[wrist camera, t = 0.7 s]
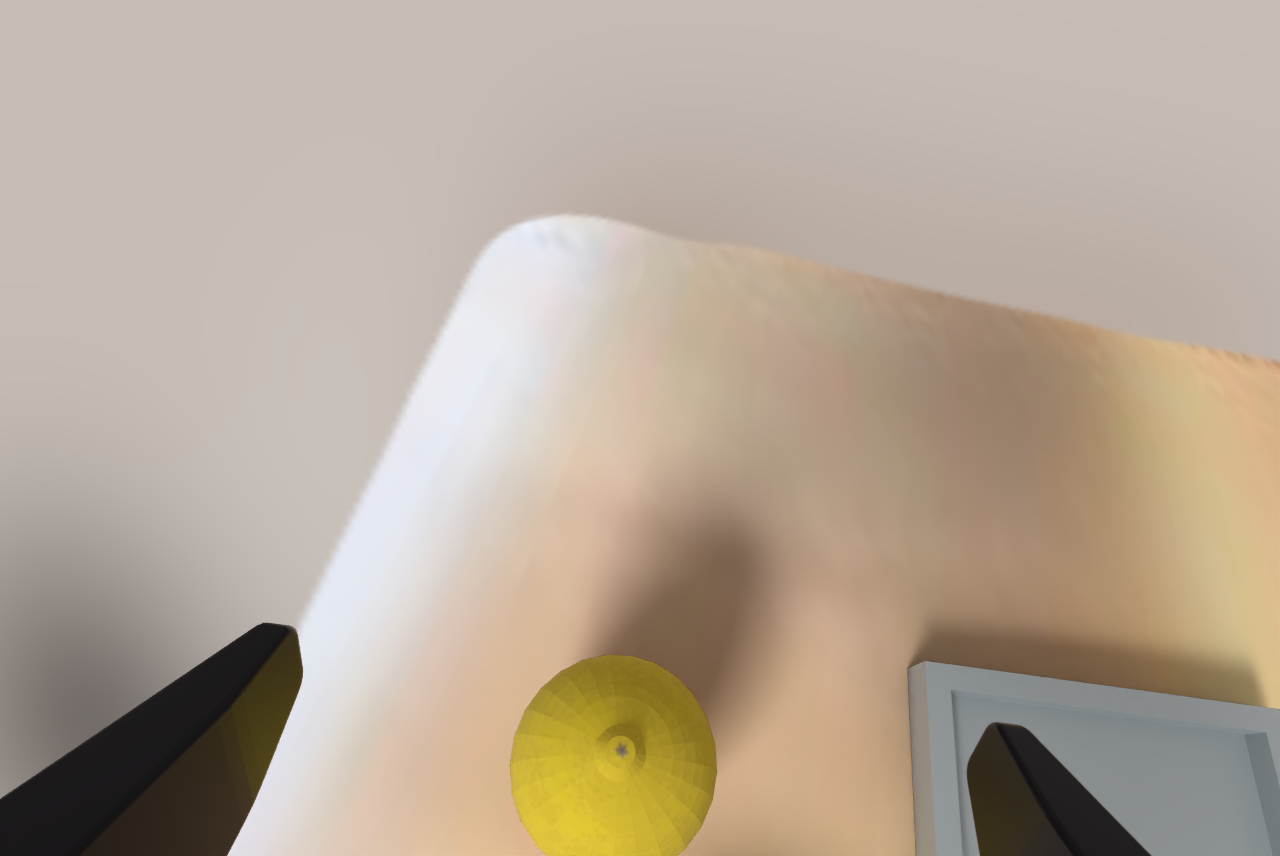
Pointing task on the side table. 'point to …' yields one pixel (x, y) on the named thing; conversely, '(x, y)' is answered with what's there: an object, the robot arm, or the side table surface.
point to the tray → (1102, 758)
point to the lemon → (613, 761)
